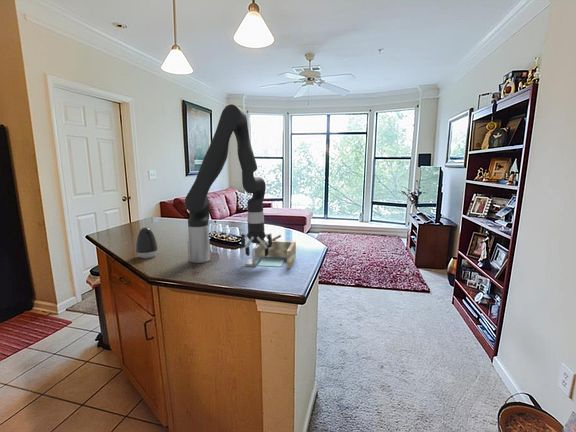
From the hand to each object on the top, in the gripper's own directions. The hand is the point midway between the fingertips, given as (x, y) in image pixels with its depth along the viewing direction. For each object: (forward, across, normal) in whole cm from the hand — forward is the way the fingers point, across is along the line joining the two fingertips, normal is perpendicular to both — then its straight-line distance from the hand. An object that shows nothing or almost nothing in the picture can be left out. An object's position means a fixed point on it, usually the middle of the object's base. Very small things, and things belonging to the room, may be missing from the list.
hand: (257, 255), depth 135 cm
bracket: (+4, +2, 0) cm, 4 cm away
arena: (+4, -6, -4) cm, 8 cm away
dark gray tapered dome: (+3, +58, -2) cm, 58 cm away
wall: (+4, 0, -23) cm, 23 cm away
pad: (+4, -6, -2) cm, 8 cm away
